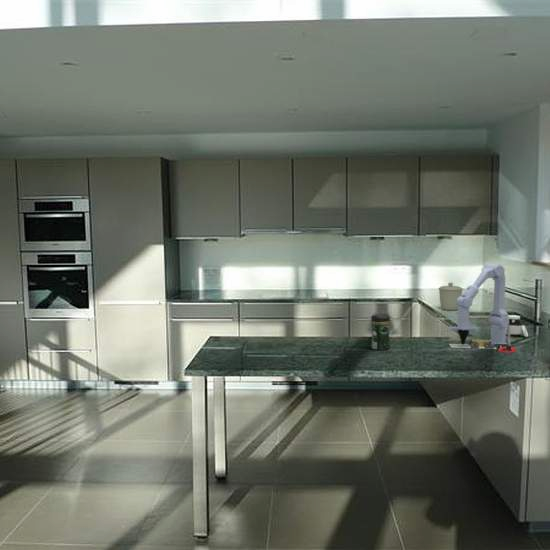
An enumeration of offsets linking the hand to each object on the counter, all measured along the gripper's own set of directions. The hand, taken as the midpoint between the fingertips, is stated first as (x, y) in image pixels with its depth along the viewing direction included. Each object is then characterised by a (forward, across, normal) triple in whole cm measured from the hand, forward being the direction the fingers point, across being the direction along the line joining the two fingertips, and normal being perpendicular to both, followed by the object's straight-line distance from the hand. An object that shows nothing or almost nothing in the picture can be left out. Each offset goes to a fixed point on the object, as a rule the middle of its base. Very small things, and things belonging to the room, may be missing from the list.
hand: (462, 344), depth 301 cm
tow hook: (+2, +21, -8) cm, 22 cm away
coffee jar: (+2, -44, -10) cm, 45 cm away
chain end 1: (+1, +6, 0) cm, 6 cm away
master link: (+1, +9, 0) cm, 9 cm away
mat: (+2, +5, +1) cm, 5 cm away
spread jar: (+2, +36, +34) cm, 50 cm away
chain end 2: (+1, +13, 0) cm, 13 cm away
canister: (+2, +11, +135) cm, 136 cm away
